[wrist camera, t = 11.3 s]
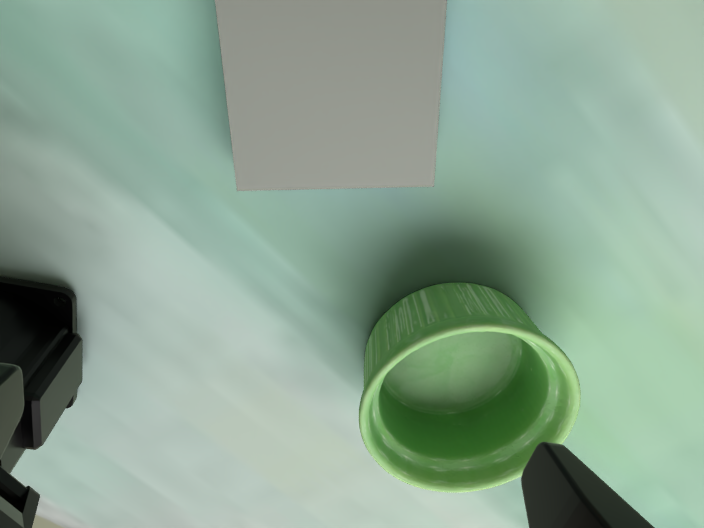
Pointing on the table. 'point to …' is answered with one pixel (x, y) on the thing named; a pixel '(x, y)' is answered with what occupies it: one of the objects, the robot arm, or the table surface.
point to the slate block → (332, 91)
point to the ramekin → (462, 389)
